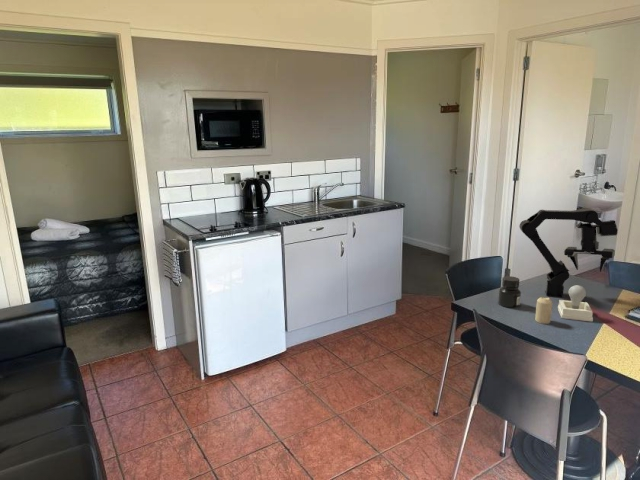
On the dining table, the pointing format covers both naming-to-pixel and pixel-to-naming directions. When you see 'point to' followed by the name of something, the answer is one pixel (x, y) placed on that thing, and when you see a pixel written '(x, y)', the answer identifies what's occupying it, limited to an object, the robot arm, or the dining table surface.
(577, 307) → the lightbulb
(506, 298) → the ink bottle
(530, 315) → the dining table surface
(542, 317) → the candle
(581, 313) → the socket
